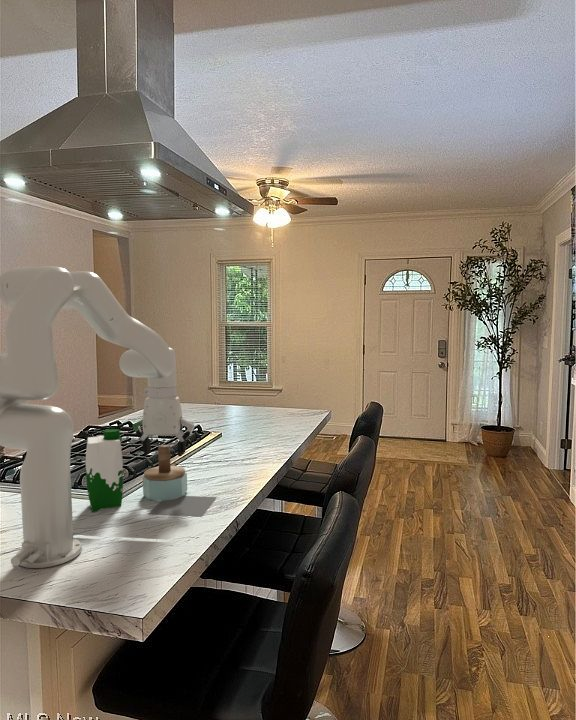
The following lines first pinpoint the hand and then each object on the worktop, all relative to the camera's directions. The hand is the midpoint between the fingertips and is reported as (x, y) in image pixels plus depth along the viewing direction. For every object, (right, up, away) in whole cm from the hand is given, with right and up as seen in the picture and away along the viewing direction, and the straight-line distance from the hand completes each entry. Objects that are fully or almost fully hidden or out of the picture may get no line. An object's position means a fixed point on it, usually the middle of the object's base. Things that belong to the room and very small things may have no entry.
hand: (164, 454), depth 147 cm
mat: (+7, -12, -8) cm, 16 cm away
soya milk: (-14, -13, -6) cm, 20 cm away
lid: (0, -6, +1) cm, 6 cm away
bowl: (0, -12, +1) cm, 12 cm away
